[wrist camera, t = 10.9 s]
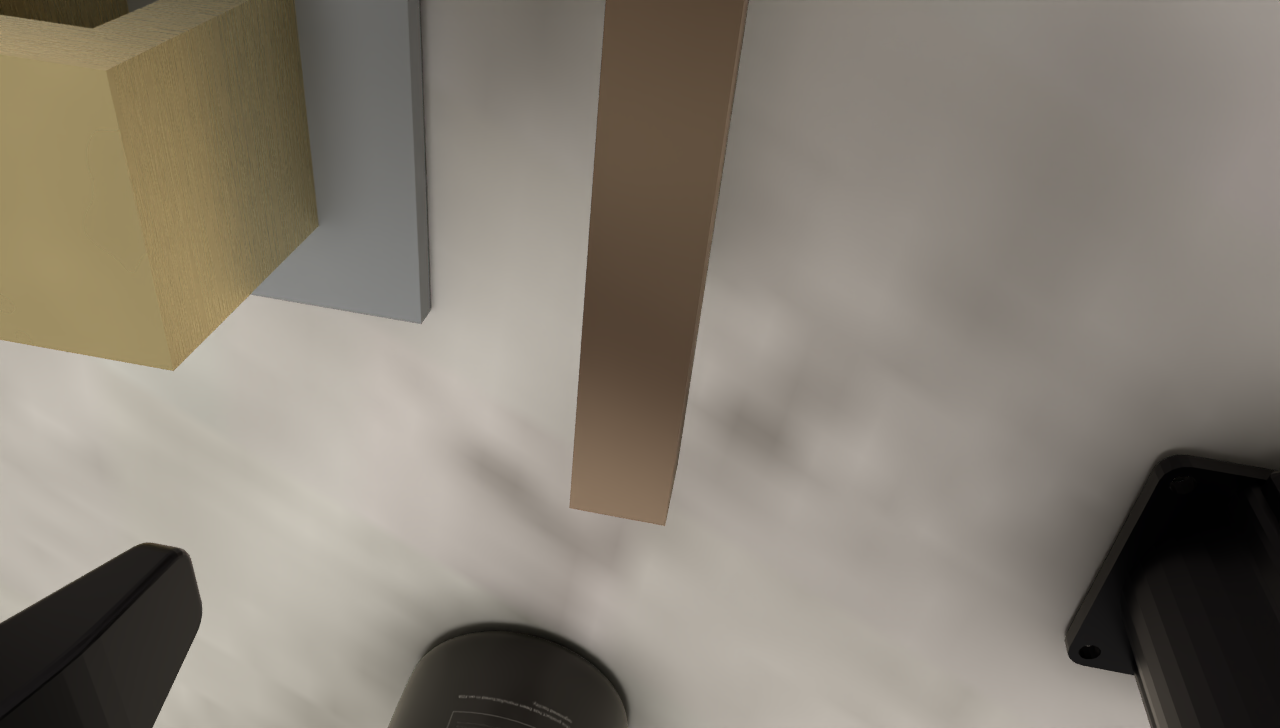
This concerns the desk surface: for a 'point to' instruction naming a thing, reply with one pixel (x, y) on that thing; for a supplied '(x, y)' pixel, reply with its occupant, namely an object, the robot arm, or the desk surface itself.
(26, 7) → the slotted brass block
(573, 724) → the supplement bottle
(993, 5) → the desk surface
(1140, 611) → the robot arm
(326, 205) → the slate mat
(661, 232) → the walnut stand
